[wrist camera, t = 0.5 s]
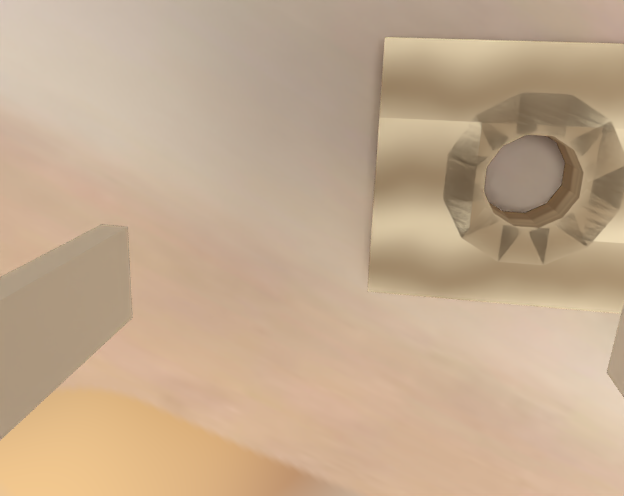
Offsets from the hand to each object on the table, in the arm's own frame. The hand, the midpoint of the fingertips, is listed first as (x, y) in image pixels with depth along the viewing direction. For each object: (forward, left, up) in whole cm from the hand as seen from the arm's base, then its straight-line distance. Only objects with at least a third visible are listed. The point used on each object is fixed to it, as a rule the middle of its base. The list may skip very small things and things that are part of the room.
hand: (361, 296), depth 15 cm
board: (0, +9, -26) cm, 27 cm away
